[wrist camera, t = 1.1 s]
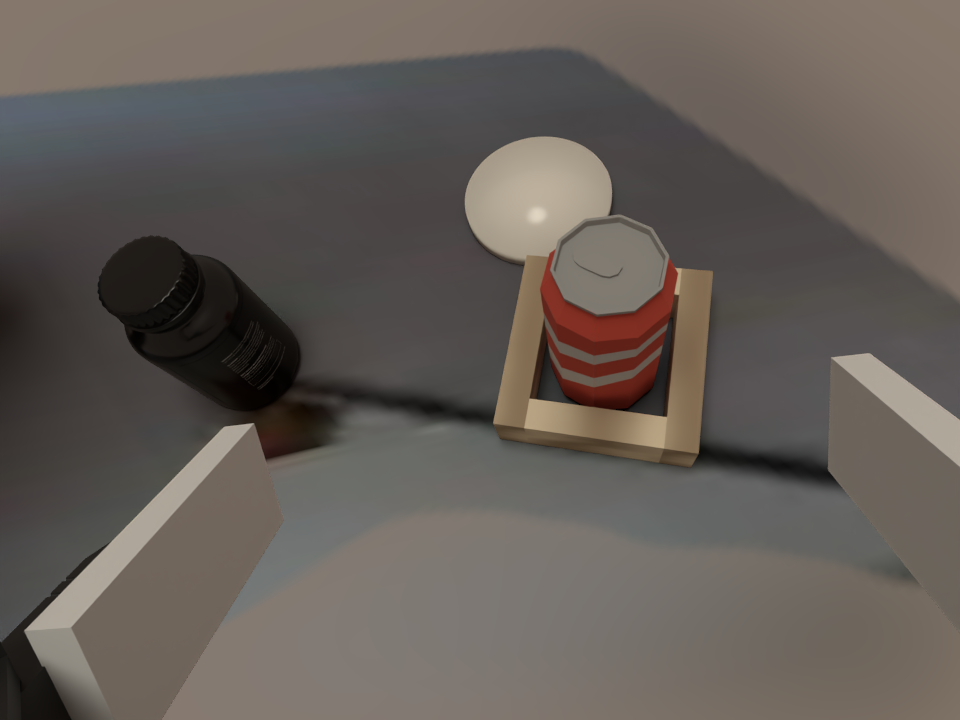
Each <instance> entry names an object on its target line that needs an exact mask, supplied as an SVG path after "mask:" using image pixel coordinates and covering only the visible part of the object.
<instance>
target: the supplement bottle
mask: <svg viewBox="0 0 960 720" xmlns="http://www.w3.org/2000/svg"><path fill="white" fill-rule="evenodd" d="M98 294H99V300H100V301H101V302H102V305H103V307H105V308H106V309H107V311H108V312H109V313H111V314H112V315H114V316H115V317H117V318H118V319H119V320H120V321H121V322H122V323H123V324H124V327H125V332H126V335H127V338H128V340H129V342H130V344H131V346H132V347H133V348H134V350H135V351H136V352H137V353H138V354H139V355H141V356H142V357H143V358H145V359H146V360H148V361H149V362H151V363H152V364H154V365H155V366H157V367H159V368H160V369H162V370H164V371H165V372H167V373H168V374H170V375H172V376H173V377H175V378H177V379H178V380H180V381H181V382H183V383H185V384H186V385H188V386H190V387H191V388H193V389H194V390H196V391H198V392H199V393H201V394H203V395H204V396H206V397H207V398H209V399H211V400H213V401H214V402H216V403H218V404H220V405H222V406H224V407H226V408H230V409H235V410H247V409H253V408H256V407H259V406H262V405H264V404H266V403H268V402H270V401H271V400H273V399H274V398H276V397H277V396H278V395H279V394H280V393H281V392H282V391H283V390H284V389H285V388H286V387H287V385H288V384H289V382H290V381H291V379H292V377H293V375H294V373H295V370H296V367H297V363H298V345H297V342H296V339H295V336H294V334H293V333H292V331H291V330H290V329H289V327H288V326H287V325H286V324H285V323H284V322H283V321H282V320H281V319H280V318H279V317H278V316H277V315H276V314H275V313H274V312H273V311H272V310H271V309H270V308H269V307H268V306H267V305H266V304H265V303H264V302H263V301H262V300H261V299H260V298H259V297H258V296H257V295H256V294H255V293H254V292H253V291H252V290H251V289H250V288H249V287H248V286H247V285H246V284H245V283H244V282H243V281H242V280H241V279H240V278H239V277H238V276H237V275H236V274H235V273H234V272H233V271H232V270H231V269H230V268H229V267H227V266H226V265H225V264H224V263H222V262H220V261H219V260H217V259H214V258H211V257H208V256H203V255H190V254H189V253H187V252H186V251H184V250H183V249H182V248H181V247H180V246H179V245H177V244H176V243H175V242H174V241H172V240H169V239H168V238H166V237H160V236H155V237H154V236H148V237H141V238H140V239H135V240H133V241H132V242H130V243H127V244H126V245H125V246H124V247H122V248H120V249H119V250H118V251H117V252H116V253H115V254H113V255H112V257H111V259H109V260H108V261H107V263H106V266H105V267H104V268H103V269H102V273H101V275H100V276H99V282H98Z"/></svg>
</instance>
